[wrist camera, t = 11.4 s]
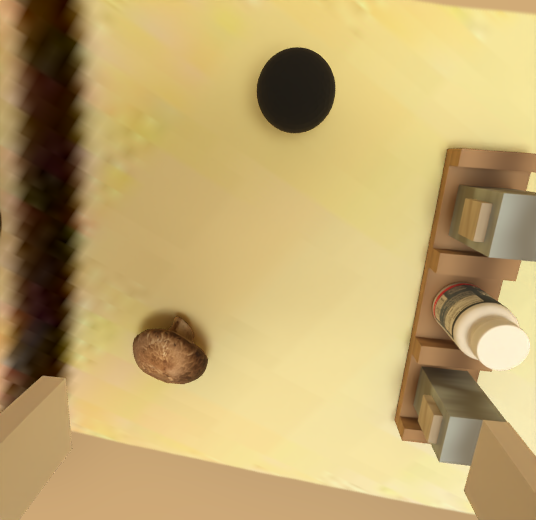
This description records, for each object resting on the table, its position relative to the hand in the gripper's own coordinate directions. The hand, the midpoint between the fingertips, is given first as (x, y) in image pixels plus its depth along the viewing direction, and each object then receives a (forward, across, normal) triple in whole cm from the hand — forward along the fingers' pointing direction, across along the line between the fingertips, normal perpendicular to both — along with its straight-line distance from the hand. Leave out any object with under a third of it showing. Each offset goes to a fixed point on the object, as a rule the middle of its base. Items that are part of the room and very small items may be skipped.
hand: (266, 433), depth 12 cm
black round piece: (+28, 0, +13) cm, 31 cm away
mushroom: (+28, -11, -13) cm, 33 cm away
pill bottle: (+27, +18, -5) cm, 32 cm away
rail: (+28, +18, -5) cm, 33 cm away
